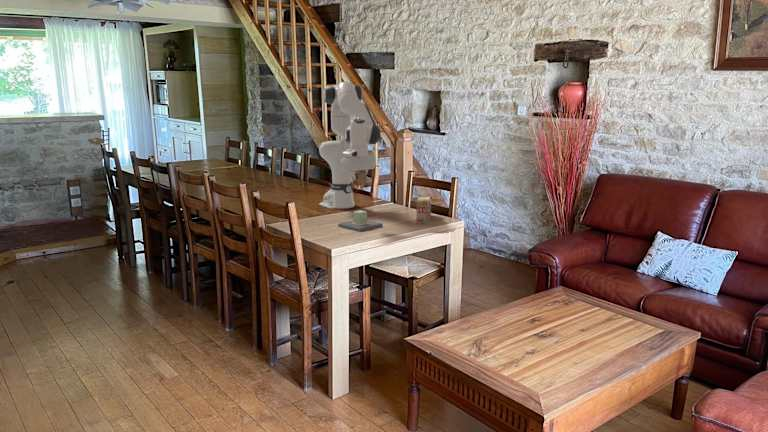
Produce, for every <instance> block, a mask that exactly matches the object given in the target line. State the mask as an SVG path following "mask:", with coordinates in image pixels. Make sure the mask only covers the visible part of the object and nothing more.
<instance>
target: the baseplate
mask: <svg viewBox="0 0 768 432" xmlns="http://www.w3.org/2000/svg"><path fill="white" fill-rule="evenodd" d="M337 226H338V227H339V228H343V229H346V230H350V231H351V230H352V231H355V232H364V231H367V230H373V229H376V228H381V227H383V223H382V222H378V221H374V220H369V219H367V223H365V224H361V225H360V224H355V223H353V219H352V220H348V221H344V222H340V223H339V222H338V224H337Z"/></svg>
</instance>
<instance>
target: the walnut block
mask: <svg viewBox="0 0 768 432" xmlns="http://www.w3.org/2000/svg"><path fill="white" fill-rule="evenodd" d="M367 175H368V173H365V172H363V171H355V176H356V177H357V180H353V179H352V186H365V185H367V184H368V183H367V182H368V181H367Z"/></svg>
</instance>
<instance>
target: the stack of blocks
mask: <svg viewBox="0 0 768 432" xmlns="http://www.w3.org/2000/svg"><path fill="white" fill-rule="evenodd" d="M431 217H432V199H431V196H418V198H417V200H416V222H415V223H416V225H429V223H430V219H431Z"/></svg>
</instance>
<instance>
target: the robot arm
mask: <svg viewBox="0 0 768 432" xmlns="http://www.w3.org/2000/svg"><path fill="white" fill-rule="evenodd" d="M322 98H323V100H324V103H325V104H326V105H331V108H330V109H331V110H330V127H331V131H332V132H333V133H334V134H336V135H338V136H340V137H341V140H327V141H324V142H323V141H322V143H320V145H319V148H318V152H319V155H320V157H321V158H322V159H323V160H325V161H326V162H327V164H328V165H329V167H330V170H331V175H332V176H331V177H332V183H330V184H329V186H330V189H329V190H328V191H327V192H326V193H324V195H323V196H322V197H323V199H322V201H321V202H319V204H318V205H319V206H321V207H325V208H328V209H331V210H332V209H338V210H339V209H351V208H354V207H355V205H356V204H355V200H354V192H353V190H352V189H353V180H357V177H356V176H355V172H365V173H367V174H368V173H369V170H374V169H376V166H377V164H376V163H377V162H376V157H375V152H374V151H373V150H369V145H375V144H377V143H378V142H379V141H381V130H380V128H379V126H378V125H377V124H376V121H375V119H374V117H373V116H372V115H373V114H372V113H371V111H370V110H369V107H368V106H367V104H365V103H364V102H362V99H363V90H362V87H361V86H360V85H359V84H353V83H352V82H350V81H342V82H340V83H339V84H334V85H332V84H329V85H326V86H325V87H324V88H323V92H322ZM351 116H353V117H357V118H355V119H352V120H351Z"/></svg>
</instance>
